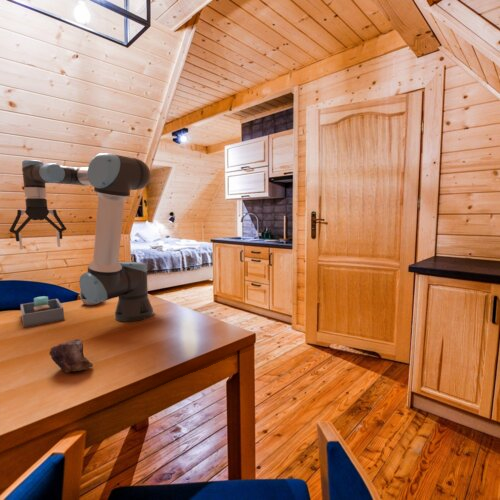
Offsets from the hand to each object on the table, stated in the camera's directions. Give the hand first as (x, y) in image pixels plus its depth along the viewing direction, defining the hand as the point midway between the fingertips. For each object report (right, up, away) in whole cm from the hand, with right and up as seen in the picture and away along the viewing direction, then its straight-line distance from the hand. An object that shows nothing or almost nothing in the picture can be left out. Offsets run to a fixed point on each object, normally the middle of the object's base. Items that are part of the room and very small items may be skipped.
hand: (40, 247), depth 135 cm
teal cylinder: (+1, -28, -1) cm, 28 cm away
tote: (+3, -29, -4) cm, 30 cm away
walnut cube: (+6, -29, -7) cm, 31 cm away
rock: (+40, -35, -47) cm, 71 cm away
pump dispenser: (+15, -27, +16) cm, 35 cm away
